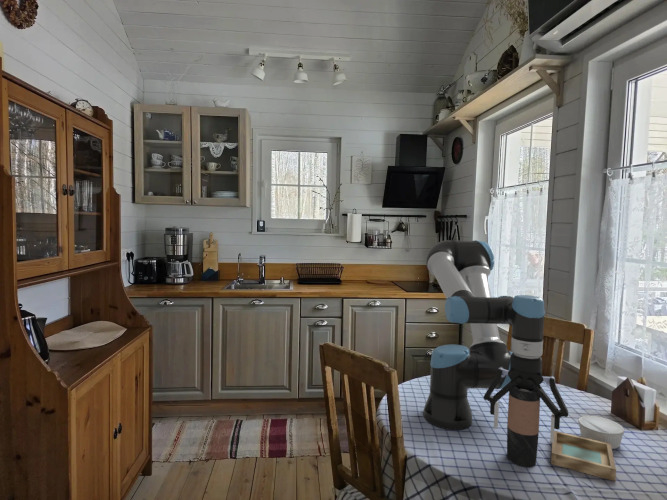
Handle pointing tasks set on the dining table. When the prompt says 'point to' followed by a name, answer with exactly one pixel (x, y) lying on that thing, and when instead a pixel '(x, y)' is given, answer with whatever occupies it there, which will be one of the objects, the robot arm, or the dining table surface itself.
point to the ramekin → (601, 430)
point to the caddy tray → (583, 455)
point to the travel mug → (523, 426)
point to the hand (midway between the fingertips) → (523, 433)
